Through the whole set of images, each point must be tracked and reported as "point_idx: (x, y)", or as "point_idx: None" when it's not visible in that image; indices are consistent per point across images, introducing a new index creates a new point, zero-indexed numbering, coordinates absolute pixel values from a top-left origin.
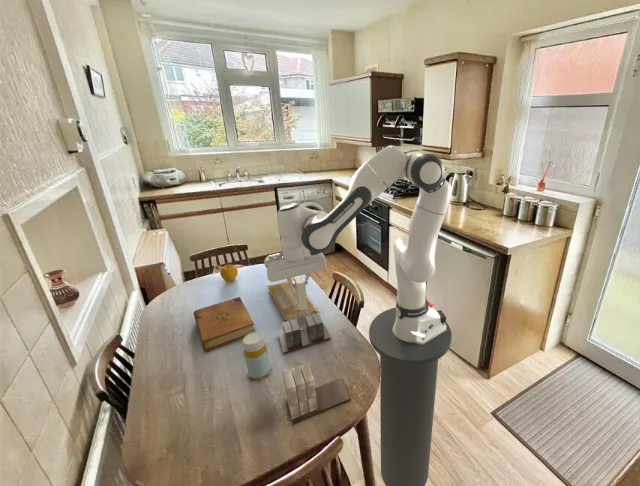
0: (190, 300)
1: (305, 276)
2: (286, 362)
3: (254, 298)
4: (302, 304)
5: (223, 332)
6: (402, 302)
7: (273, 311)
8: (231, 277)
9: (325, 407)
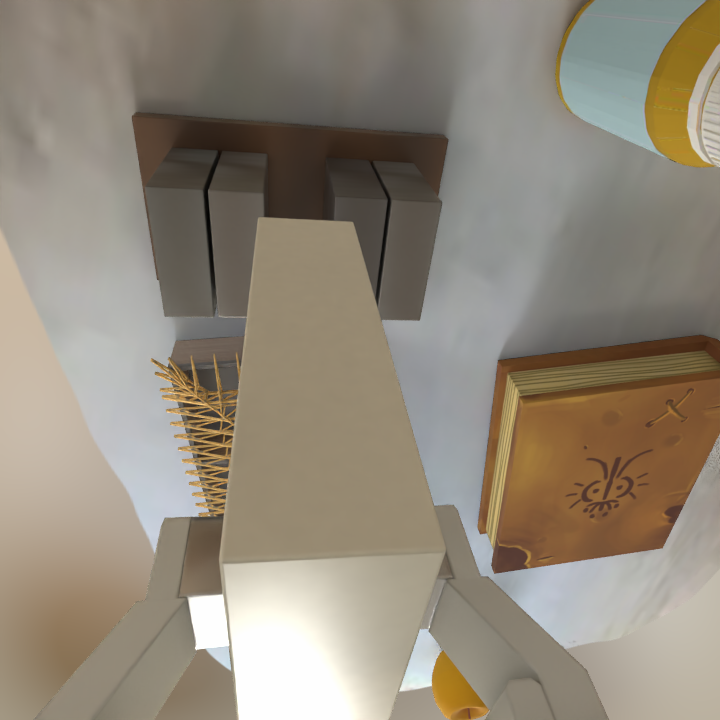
0: (598, 595)
1: (165, 699)
2: (457, 51)
3: None
4: (324, 251)
5: (660, 392)
6: None
7: None
8: None
9: None
